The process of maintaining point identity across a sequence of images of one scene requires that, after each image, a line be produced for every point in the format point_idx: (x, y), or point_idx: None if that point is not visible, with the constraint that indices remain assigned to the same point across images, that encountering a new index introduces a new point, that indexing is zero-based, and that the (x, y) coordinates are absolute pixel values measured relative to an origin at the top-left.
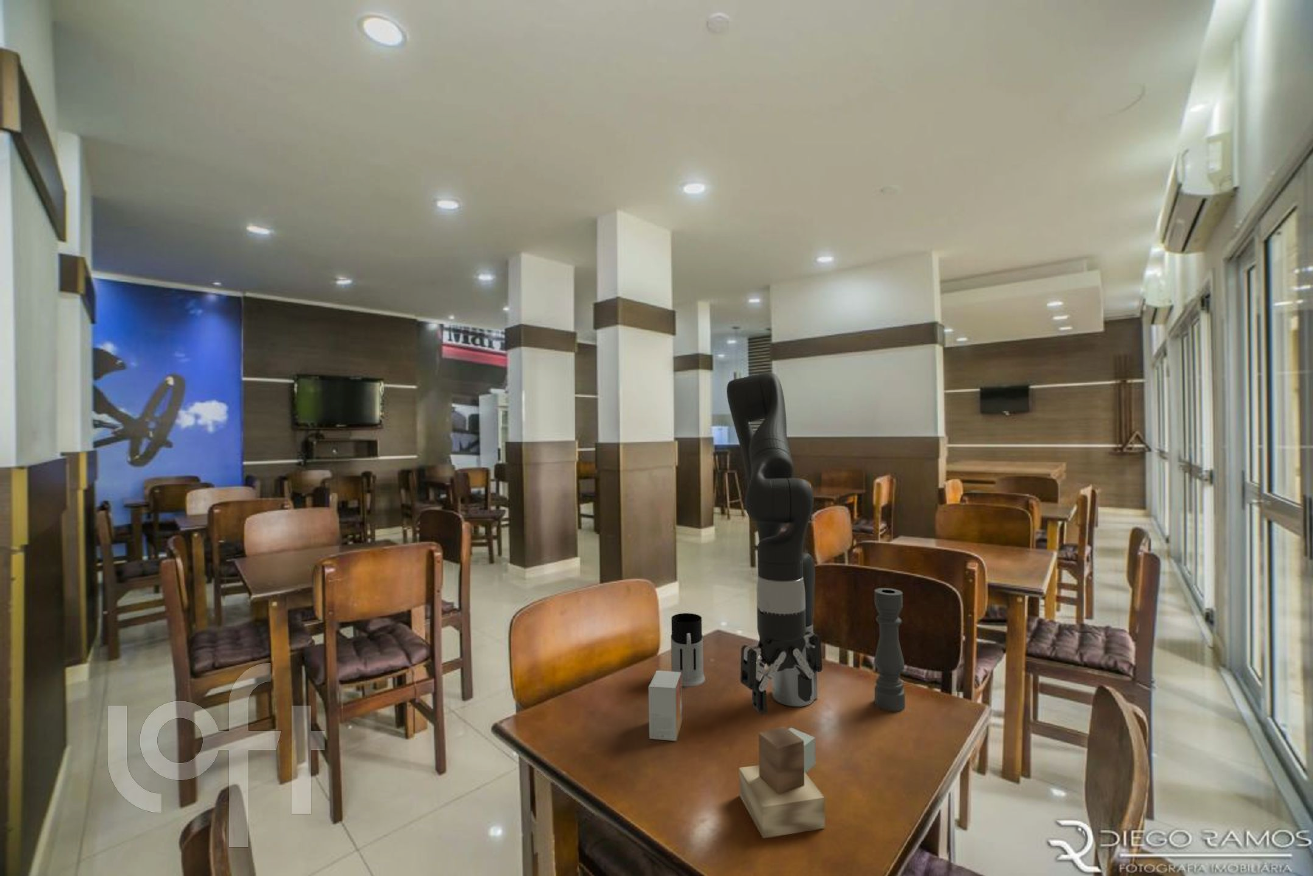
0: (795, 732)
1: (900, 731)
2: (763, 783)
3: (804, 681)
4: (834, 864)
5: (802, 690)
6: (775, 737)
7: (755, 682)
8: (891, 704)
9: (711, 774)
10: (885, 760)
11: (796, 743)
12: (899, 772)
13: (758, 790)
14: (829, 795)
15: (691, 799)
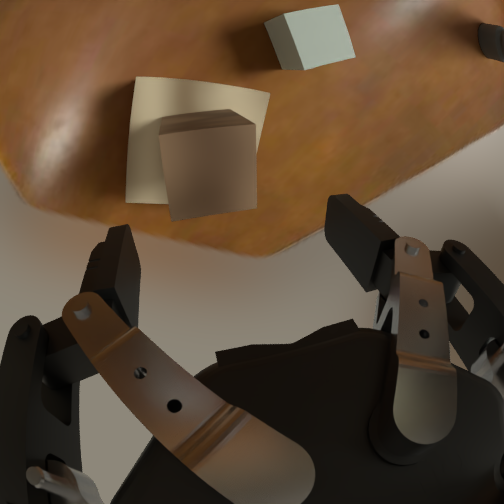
0: (334, 21)
1: (463, 80)
2: (158, 141)
3: (362, 272)
4: (202, 245)
5: (343, 235)
6: (194, 171)
7: (77, 392)
8: (488, 51)
9: (124, 7)
10: (412, 108)
11: (232, 211)
12: (405, 136)
13: (138, 158)
14: (291, 129)
15: (58, 70)
